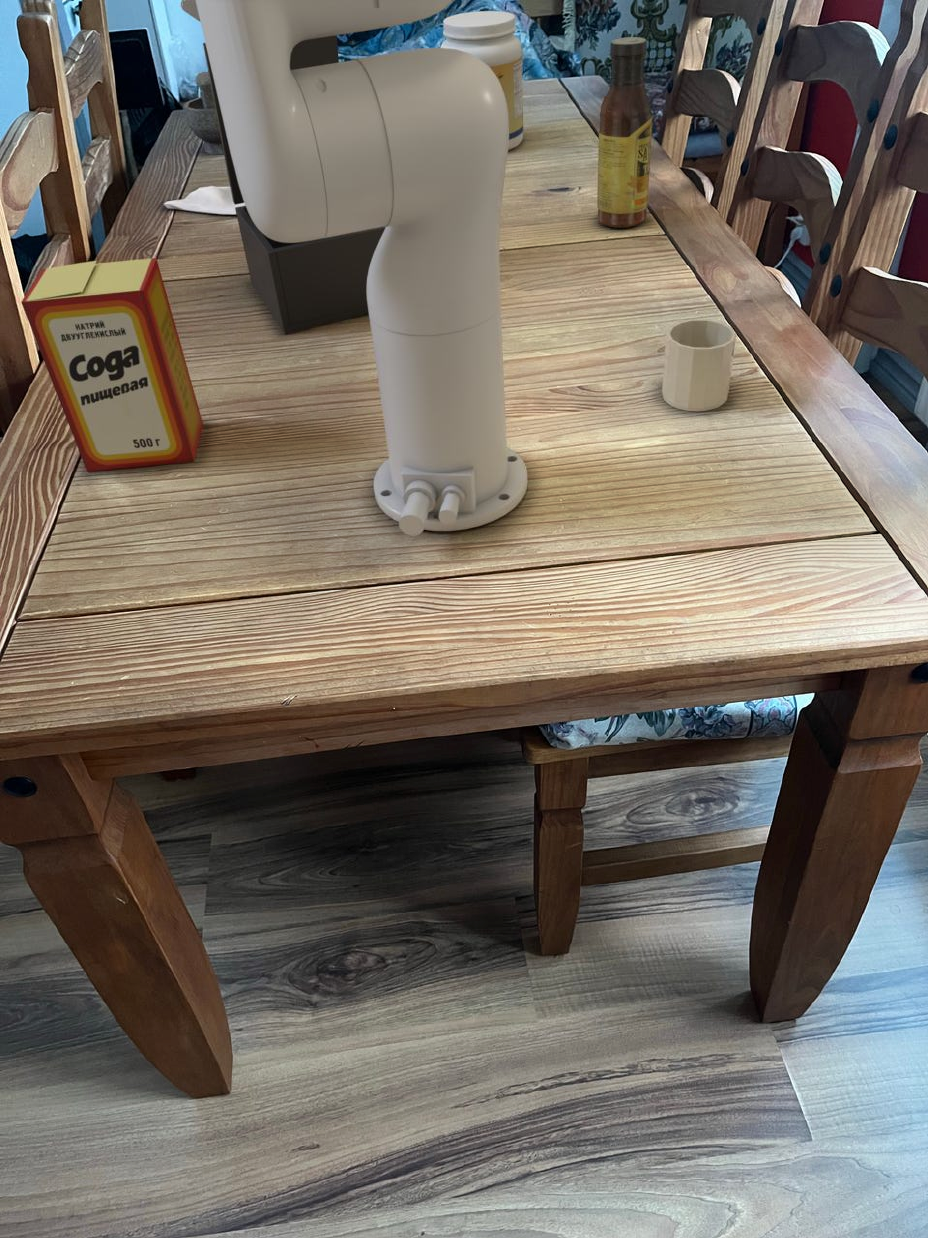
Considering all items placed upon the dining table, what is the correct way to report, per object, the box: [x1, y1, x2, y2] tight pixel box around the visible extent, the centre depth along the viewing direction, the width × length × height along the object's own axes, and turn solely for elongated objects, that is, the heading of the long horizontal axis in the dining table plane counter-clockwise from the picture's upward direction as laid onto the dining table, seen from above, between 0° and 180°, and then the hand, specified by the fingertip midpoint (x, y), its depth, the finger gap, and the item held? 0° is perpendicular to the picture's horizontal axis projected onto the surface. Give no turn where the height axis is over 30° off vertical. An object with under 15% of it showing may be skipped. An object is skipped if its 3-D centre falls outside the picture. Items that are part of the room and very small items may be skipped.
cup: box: [661, 318, 737, 412], centre depth 86 cm, size 6×6×6 cm
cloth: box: [163, 185, 245, 216], centre depth 136 cm, size 26×14×2 cm, turn 91°
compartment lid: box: [202, 35, 340, 205], centre depth 104 cm, size 16×14×5 cm
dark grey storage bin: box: [235, 205, 386, 335], centre depth 107 cm, size 16×14×9 cm
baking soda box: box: [20, 257, 204, 473], centre depth 82 cm, size 10×6×16 cm
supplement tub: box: [439, 10, 525, 151], centre depth 143 cm, size 12×12×17 cm
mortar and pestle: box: [183, 71, 224, 155], centre depth 152 cm, size 11×9×12 cm
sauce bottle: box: [596, 36, 654, 228], centre depth 115 cm, size 7×6×20 cm
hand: (267, 75), depth 104 cm, fingers closed on compartment lid, 5 cm apart
